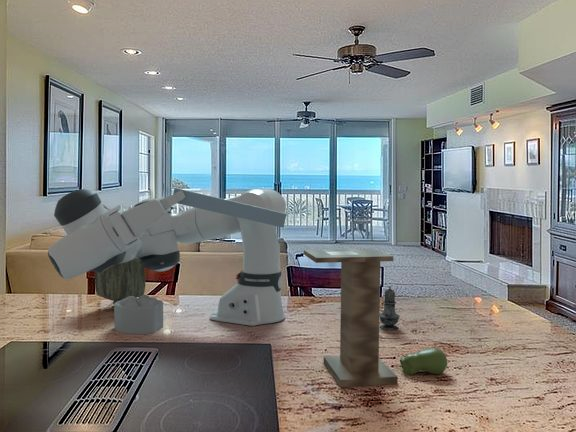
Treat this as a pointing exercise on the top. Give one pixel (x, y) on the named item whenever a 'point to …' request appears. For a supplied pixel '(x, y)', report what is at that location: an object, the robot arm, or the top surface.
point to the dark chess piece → (389, 312)
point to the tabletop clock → (121, 281)
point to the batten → (232, 208)
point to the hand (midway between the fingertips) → (184, 193)
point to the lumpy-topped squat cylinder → (138, 315)
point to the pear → (424, 362)
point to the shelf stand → (358, 317)
